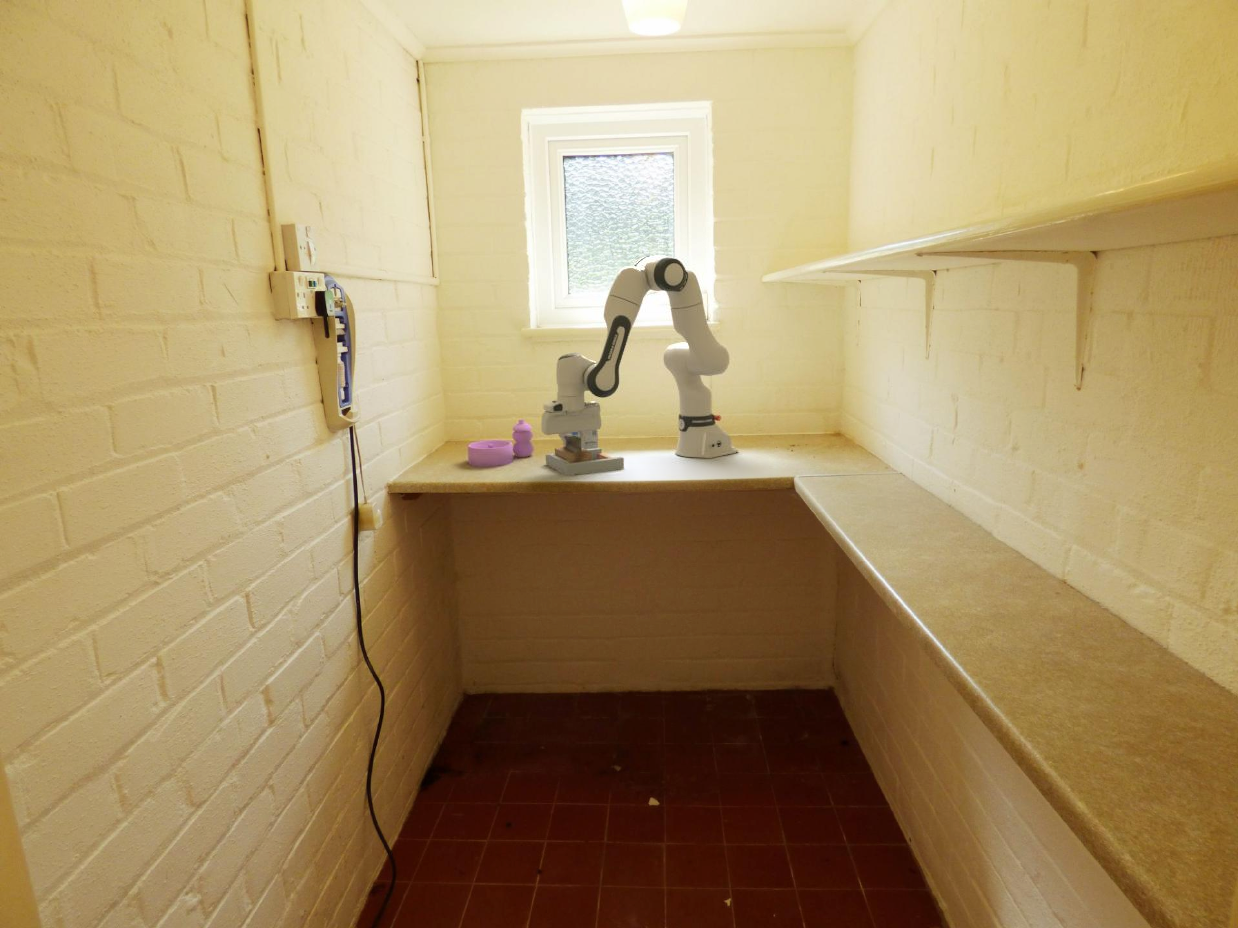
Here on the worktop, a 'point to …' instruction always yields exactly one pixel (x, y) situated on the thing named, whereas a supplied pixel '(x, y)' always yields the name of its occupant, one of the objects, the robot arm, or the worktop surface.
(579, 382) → the robot arm
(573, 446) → the brown and grey block
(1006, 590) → the worktop surface
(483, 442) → the container set
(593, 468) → the bay
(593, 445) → the light bulb box
